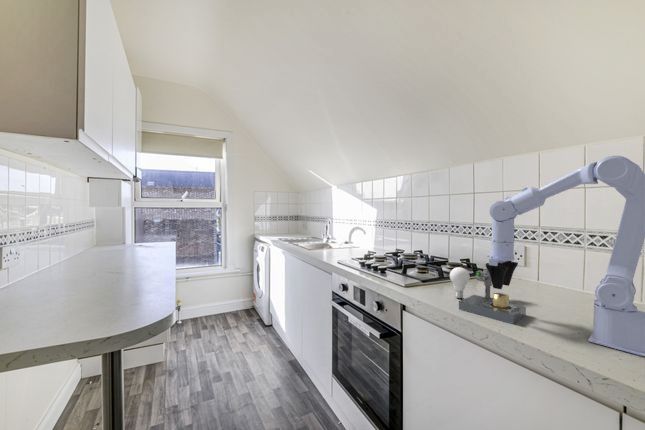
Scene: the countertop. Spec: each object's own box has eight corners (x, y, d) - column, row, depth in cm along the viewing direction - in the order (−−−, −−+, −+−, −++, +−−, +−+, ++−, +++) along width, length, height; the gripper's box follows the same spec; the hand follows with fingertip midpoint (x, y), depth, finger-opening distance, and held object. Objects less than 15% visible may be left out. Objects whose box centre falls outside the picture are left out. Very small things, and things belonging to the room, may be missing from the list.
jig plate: (525, 315, 86) (526, 306, 86) (513, 324, 79) (513, 315, 79) (473, 302, 98) (473, 294, 98) (458, 309, 91) (458, 301, 91)
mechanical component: (473, 297, 102) (474, 270, 102) (494, 295, 106) (494, 268, 106) (480, 300, 100) (481, 271, 99) (501, 297, 103) (502, 269, 103)
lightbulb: (460, 302, 98) (460, 270, 97) (445, 296, 103) (445, 266, 103) (473, 299, 100) (474, 268, 100) (457, 294, 106) (458, 265, 106)
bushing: (510, 314, 86) (510, 294, 86) (505, 318, 84) (506, 297, 84) (495, 311, 89) (496, 291, 89) (490, 314, 87) (491, 294, 87)
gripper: (496, 238, 94) (495, 280, 94) (478, 242, 85) (477, 287, 85) (522, 241, 88) (521, 284, 89) (505, 244, 79) (503, 293, 79)
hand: (501, 286), depth 86 cm, fingers open, 6 cm apart
